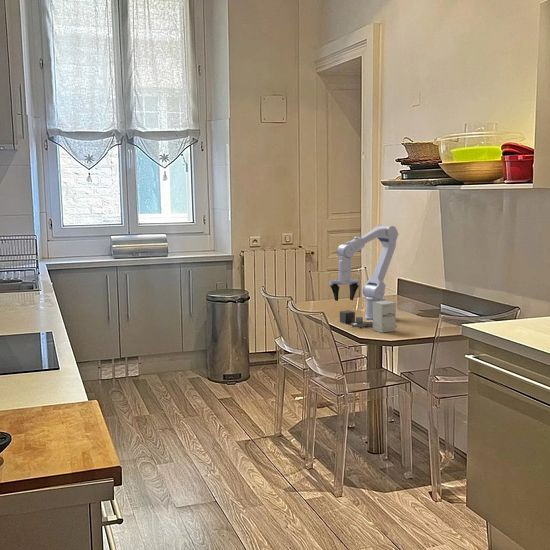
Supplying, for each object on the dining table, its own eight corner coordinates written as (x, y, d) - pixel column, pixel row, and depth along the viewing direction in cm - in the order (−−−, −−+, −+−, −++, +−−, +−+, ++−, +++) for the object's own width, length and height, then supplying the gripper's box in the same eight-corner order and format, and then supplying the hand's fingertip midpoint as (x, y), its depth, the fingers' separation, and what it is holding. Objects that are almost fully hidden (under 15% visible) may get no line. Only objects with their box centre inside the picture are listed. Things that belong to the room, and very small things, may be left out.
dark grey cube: (348, 320, 327) (348, 310, 326) (354, 322, 323) (354, 311, 322) (339, 322, 325) (339, 311, 324) (345, 324, 320) (345, 313, 320)
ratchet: (393, 323, 319) (393, 315, 318) (395, 327, 311) (395, 318, 310) (350, 324, 320) (350, 315, 319) (351, 328, 312) (351, 319, 311)
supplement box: (381, 333, 300) (381, 304, 299) (372, 329, 307) (372, 301, 305) (396, 331, 303) (396, 302, 301) (386, 328, 310) (386, 299, 308)
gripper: (334, 272, 315) (333, 302, 316) (363, 271, 319) (362, 300, 321) (327, 270, 321) (326, 299, 323) (356, 269, 326) (355, 298, 328)
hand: (344, 300), depth 322 cm, fingers open, 7 cm apart
